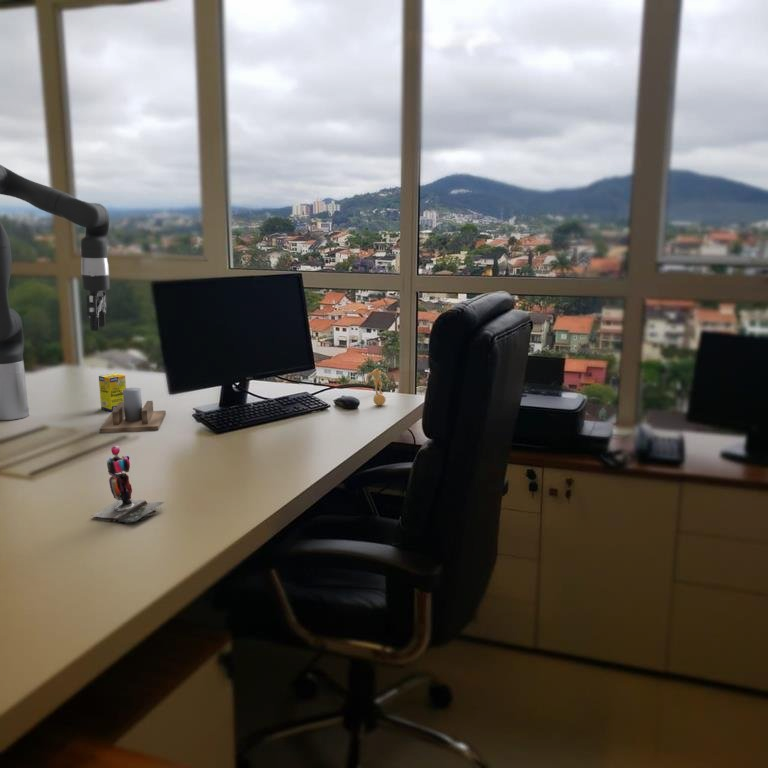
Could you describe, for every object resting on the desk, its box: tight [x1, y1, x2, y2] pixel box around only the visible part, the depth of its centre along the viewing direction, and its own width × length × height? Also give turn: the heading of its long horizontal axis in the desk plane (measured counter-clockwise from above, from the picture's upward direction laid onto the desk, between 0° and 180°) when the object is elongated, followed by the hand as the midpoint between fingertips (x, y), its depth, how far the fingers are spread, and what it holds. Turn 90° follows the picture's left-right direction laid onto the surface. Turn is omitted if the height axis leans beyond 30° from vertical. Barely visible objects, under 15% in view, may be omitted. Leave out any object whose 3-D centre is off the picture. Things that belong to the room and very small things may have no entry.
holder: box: [99, 400, 167, 434], centre depth 218 cm, size 16×18×5 cm
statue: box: [90, 445, 165, 525], centre depth 149 cm, size 11×9×15 cm
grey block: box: [123, 387, 143, 421], centre depth 217 cm, size 5×5×9 cm
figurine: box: [365, 367, 391, 406], centre depth 239 cm, size 8×6×12 cm
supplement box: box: [98, 372, 127, 413], centre depth 234 cm, size 6×6×11 cm
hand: (98, 328), depth 218 cm, fingers open, 8 cm apart
